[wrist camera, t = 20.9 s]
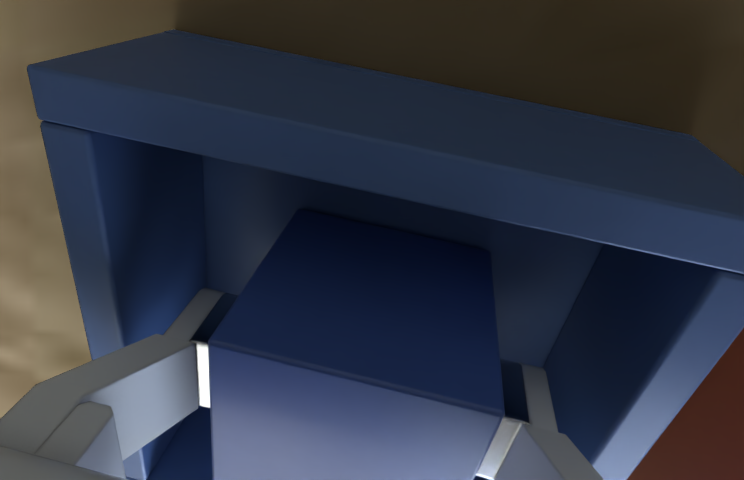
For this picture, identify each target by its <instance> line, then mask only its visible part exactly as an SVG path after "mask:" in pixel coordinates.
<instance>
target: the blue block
mask: <svg viewBox="0 0 744 480" xmlns="http://www.w3.org/2000/svg"><path fill="white" fill-rule="evenodd" d="M208 362H209V391H210V420H211V449H212V479H213V480H474V479H475V477H476V474H477V472H478V470H479V468H480V466H481V464H482V462H483V460H484V457H485V455H486V453H487V451H488V449H489V447H490V445H491V442H492V440H493V438H494V436H495V434H496V432H497V430H498V428H499V425H500V423H501V421H502V419H503V417H504V415H505V409H504V398H503V386H502V375H501V363H500V352H499V340H498V329H497V317H496V306H495V294H494V283H493V272H492V260H491V253H490V252H489V251H485V250H481V249H477V248H472V247H468V246H463V245H459V244H454V243H450V242H445V241H441V240H436V239H432V238H428V237H423V236H419V235H414V234H410V233H405V232H401V231H396V230H392V229H388V228H383V227H379V226H374V225H370V224H365V223H361V222H356V221H352V220H347V219H343V218H339V217H334V216H330V215H325V214H321V213H316V212H312V211H307V210H303V209H297V210H296V212H295V213H294V215H293V216H292V218H291V219H290V221H289V222H288V224H287V225H286V227H285V228H284V229H283V231H282V232H281V234H280V235H279V237H278V238H277V240H276V241H275V243H274V244H273V246H272V247H271V249H270V250H269V252H268V253H267V255H266V256H265V258H264V259H263V260H262V262H261V263H260V265H259V266H258V268H257V269H256V271H255V272H254V274H253V275H252V277H251V278H250V280H249V281H248V283H247V284H246V286H245V287H244V289H243V290H242V291H241V293H240V294H239V296H238V297H237V299H236V300H235V302H234V303H233V305H232V306H231V308H230V309H229V311H228V312H227V314H226V315H225V317H224V318H223V320H222V321H221V323H220V324H219V325H218V327H217V328H216V330H215V331H214V333H213V334H212V336H211V337H210V339H209V341H208Z"/></svg>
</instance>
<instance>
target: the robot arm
mask: <svg viewBox="0 0 744 480" xmlns="http://www.w3.org/2000/svg"><path fill="white" fill-rule="evenodd" d="M237 297H238V295H234V294H230V293H224V292H220V291H217V290H213V289H209V288H203V289H201V290H199V291H198V292H197V294H196V295H195V296H194V297H193V299H192V300H191V301H190V302H189V304H188V305H187V306H186V307H185V308H184V310H183V311H182V312H181V313H180V315H179V316H178V317H177V318H176V320H175V321H174V322H173V323H172V324H171V326H170V327H169V328H168V329H167V331H166V332H165V333H164V334H163V335H160V334H154V335H152V336H149V337H147V338H145V339H142V340H140V341H138V342H135V343H133V344H130V345H128V346H126V347H123V348H121V349H119V350H116V351H114V352H112V353H109V354H107V355H104V356H102V357H100V358H97V359H95V360H93V361H90V362H88V363H86V364H83V365H81V366H79V367H76V368H74V369H71V370H69V371H67V372H64V373H62V374H60V375H57V376H55V377H53V378H50V379H48V380H45V381H43V382H41V383H38V384H36V385H35V386H34V387H33V388H32V389H31V390H30V391H29V392H28V393H27V394H26V395H24V396H23V397H22V398H21V399H20V400H19V401H18V402H17V403H16V404H15V405H14V406H13V407H12V408H11V409H10V410H9V411H8V412H7V413H6V414H5V415H4V416H3V417H2V418H1V419H0V480H128V479H126V475H125V470H124V465H123V460H125V459H126V458H128V457H129V456H130V455H132V454H133V453H135V452H136V451H138V450H139V449H141V448H142V447H143V446H145V445H146V444H148V443H149V442H151V441H152V440H153V439H155V438H156V437H158V436H159V435H161V434H162V433H163V432H165V431H166V430H168V429H169V428H171V427H172V426H174V425H175V424H176V423H178V422H179V421H181V420H182V419H184V418H185V417H186V416H188V415H189V414H191V413H192V412H194V411H195V410H196V409H198V406H202V407H206V408H210V391H209V362H208V341H209V339H210V337H211V336H212V334H213V333H214V331H215V330H216V328H217V327H218V325H219V324H220V323H221V321H222V320H223V318H224V317H225V315H226V314H227V312H228V311H229V309H230V308H231V306H232V305H233V303H234V302H235V300H236V299H237ZM500 363H501V375H502V386H503V398H504V409H505V415H504V417H503V419H502V421H501V423H500V425H499V428H498V430H497V432H496V434H495V436H494V438H493V440H492V442H491V445H490V447H489V449H488V451H487V453H486V455H485V457H484V460H483V462H482V464H481V466H480V468H479V470H478V472H477V474H476V476H478V477H482V478H485V479H489V480H604V479H603V478H602V477H601V476H600V474H599V473H598V472H597V471H596V470H595V469H594V467H593V466H592V465H591V464H590V463H589V461H588V460H587V459H586V458H585V457H584V455H583V454H582V453H581V452H580V451H579V450H578V448H577V447H576V446H575V445H574V444H573V442H572V441H571V440H570V439H569V438H568V436H567V435H566V434H562V433H558V428H557V423H556V418H555V413H554V408H553V403H552V399H551V394H550V389H549V384H548V379H547V374H546V371H545V370H544V368H542V367H537V366H532V365H528V364H523V363H517V362H513V361H509V360H504V359H500Z"/></svg>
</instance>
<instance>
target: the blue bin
mask: <svg viewBox="0 0 744 480" xmlns="http://www.w3.org/2000/svg"><path fill="white" fill-rule="evenodd" d="M27 71H28V76H29V80H30V85H31V89H32V94H33V99H34V103H35V108H36V112H37V116H38V118H39V119H41V120H44V121H42V122H41V125H40V127H41V132H42V136H43V141H44V145H45V150H46V154H47V159H48V163H49V168H50V172H51V177H52V181H53V186H54V190H55V195H56V200H57V204H58V209H59V213H60V218H61V222H62V227H63V231H64V236H65V240H66V245H67V249H68V254H69V259H70V263H71V268H72V272H73V277H74V281H75V286H76V290H77V295H78V299H79V304H80V308H81V313H82V317H83V322H84V327H85V331H86V336H87V340H88V345H89V349H90V354H91V358H92V361H93V360H95V359H97V358H100V357H102V356H104V355H107V354H109V353H112V352H114V351H116V350H119V349H121V348H123V347H126V346H128V345H130V344H133V343H135V342H138V341H140V340H142V339H145V338H147V337H149V336H152V335H154V334H160V335H163V334H164V333H165V332H166V331H167V329H168V328H169V327H170V326H171V324H172V323H173V322H174V321H175V320H176V318H177V317H178V316H179V315H180V313H181V312H182V311H183V310H184V308H185V307H186V306H187V305H188V304H189V302H190V301H191V300H192V299H193V297H194V296H195V295H196V294H197V292H198V291H199V290H201V289H203V288H209V289H213V290H217V291H220V292H224V293H230V294H234V295H238V296H239V294H240V293H241V291H242V290H243V289H244V287H245V286H246V284H247V283H248V281H249V280H250V278H251V277H252V275H253V274H254V272H255V271H256V269H257V268H258V266H259V265H260V263H261V262H262V260H263V259H264V258H265V256H266V255H267V253H268V252H269V250H270V249H271V247H272V246H273V244H274V243H275V241H276V240H277V238H278V237H279V235H280V234H281V232H282V231H283V229H284V228H285V227H286V225H287V224H288V222H289V221H290V219H291V218H292V216H293V215H294V213H295V212H296V210H297V209H303V210H307V211H312V212H316V213H321V214H325V215H330V216H334V217H339V218H343V219H347V220H352V221H356V222H361V223H365V224H370V225H374V226H379V227H383V228H388V229H392V230H396V231H401V232H405V233H410V234H414V235H419V236H423V237H428V238H432V239H436V240H441V241H445V242H450V243H454V244H459V245H463V246H468V247H472V248H477V249H481V250H485V251H489V252H490V253H491V260H492V272H493V283H494V294H495V306H496V317H497V329H498V340H499V352H500V359H504V360H509V361H513V362H517V363H523V364H528V365H532V366H537V367H542V368H544V370H545V371H546V374H547V379H548V384H549V389H550V394H551V399H552V403H553V408H554V413H555V418H556V423H557V428H558V433H562V434H566V435H567V436H568V438H569V439H570V440H571V441H572V442H573V444H574V445H575V446H576V447H577V448H578V450H579V451H580V452H581V453H582V454H583V455H584V457H585V458H586V459H587V460H588V461H589V463H590V464H591V465H592V466H593V467H594V469H595V470H596V471H597V472H598V473H599V474H600V476H601V477H602V478H603V479H604V480H627V479H628V478H629V476H630V475H631V474H632V472H633V471H634V470H635V468H636V467H637V466H638V465H639V463H640V462H641V461H642V459H643V458H644V457H645V455H646V454H647V453H648V452H649V450H650V449H651V448H652V446H653V445H654V444H655V442H656V441H657V440H658V439H659V437H660V436H661V435H662V433H663V432H664V431H665V429H666V428H667V427H668V426H669V424H670V423H671V422H672V420H673V419H674V418H675V416H676V415H677V414H678V413H679V411H680V410H681V409H682V407H683V406H684V405H685V403H686V402H687V401H688V400H689V398H690V397H691V396H692V394H693V393H694V392H695V391H696V389H697V388H698V387H699V385H700V384H701V383H702V381H703V380H704V379H705V378H706V376H707V375H708V374H709V372H710V371H711V370H712V368H713V367H714V366H715V365H716V363H717V362H718V361H719V359H720V358H721V357H722V355H723V354H724V353H725V352H726V350H727V349H728V348H729V346H730V345H731V344H732V342H733V341H734V340H735V339H736V337H737V336H738V335H739V333H740V332H741V331H742V329H743V328H744V176H743V175H741V174H740V173H739V172H737V171H736V170H735V169H734V168H732V167H731V166H730V165H729V164H727V163H726V162H725V161H723V160H722V159H721V158H720V157H718V156H717V155H716V154H714V153H713V152H712V151H711V150H709V149H708V148H707V147H705V146H704V145H703V144H702V143H700V142H699V140H697V139H696V138H695V137H693V136H692V135H690V134H685V133H680V132H675V131H670V130H665V129H660V128H655V127H651V126H646V125H641V124H636V123H631V122H626V121H621V120H616V119H611V118H606V117H601V116H596V115H592V114H587V113H582V112H577V111H572V110H567V109H562V108H557V107H552V106H547V105H542V104H538V103H533V102H528V101H523V100H518V99H513V98H508V97H503V96H498V95H493V94H488V93H484V92H479V91H474V90H469V89H464V88H459V87H454V86H449V85H444V84H439V83H434V82H429V81H425V80H420V79H415V78H410V77H405V76H400V75H395V74H390V73H385V72H380V71H375V70H371V69H366V68H361V67H356V66H351V65H346V64H341V63H336V62H331V61H326V60H321V59H317V58H312V57H307V56H302V55H297V54H292V53H287V52H282V51H277V50H272V49H267V48H262V47H258V46H253V45H248V44H243V43H238V42H233V41H228V40H223V39H218V38H213V37H208V36H204V35H199V34H194V33H189V32H184V31H179V30H174V29H173V30H169V31H165V32H162V33H158V34H154V35H150V36H146V37H142V38H138V39H133V40H129V41H125V42H121V43H117V44H113V45H109V46H105V47H100V48H96V49H92V50H88V51H84V52H80V53H76V54H71V55H67V56H63V57H59V58H55V59H51V60H47V61H43V62H38V63H34V64H30V65H28V66H27ZM123 465H124V470H125V475H126V479H128V480H213V479H212V449H211V420H210V408H206V407H202V406H198V409H196V410H195V411H194V412H192V413H191V414H189V415H188V416H186V417H185V418H184V419H182V420H181V421H179V422H178V423H176V424H175V425H174V426H172V427H171V428H169V429H168V430H166V431H165V432H163V433H162V434H161V435H159V436H158V437H156V438H155V439H153V440H152V441H151V442H149V443H148V444H146V445H145V446H143V447H142V448H141V449H139V450H138V451H136V452H135V453H133V454H132V455H130V456H129V457H128V458H126V459H125V460H123ZM474 480H489V479H485V478H482V477H478V476H476V477H475V479H474Z"/></svg>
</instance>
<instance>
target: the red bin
mask: <svg viewBox="0 0 744 480" xmlns="http://www.w3.org/2000/svg"><path fill="white" fill-rule="evenodd" d="M627 480H744V328H743V329H742V331H741V332H740V333H739V335H738V336H737V337H736V339H735V340H734V341H733V342H732V344H731V345H730V346H729V348H728V349H727V350H726V352H725V353H724V354H723V355H722V357H721V358H720V359H719V361H718V362H717V363H716V365H715V366H714V367H713V368H712V370H711V371H710V372H709V374H708V375H707V376H706V378H705V379H704V380H703V381H702V383H701V384H700V385H699V387H698V388H697V389H696V391H695V392H694V393H693V394H692V396H691V397H690V398H689V400H688V401H687V402H686V403H685V405H684V406H683V407H682V409H681V410H680V411H679V413H678V414H677V415H676V416H675V418H674V419H673V420H672V422H671V423H670V424H669V426H668V427H667V428H666V429H665V431H664V432H663V433H662V435H661V436H660V437H659V439H658V440H657V441H656V442H655V444H654V445H653V446H652V448H651V449H650V450H649V452H648V453H647V454H646V455H645V457H644V458H643V459H642V461H641V462H640V463H639V465H638V466H637V467H636V468H635V470H634V471H633V472H632V474H631V475H630V476H629V478H628V479H627Z"/></svg>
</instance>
